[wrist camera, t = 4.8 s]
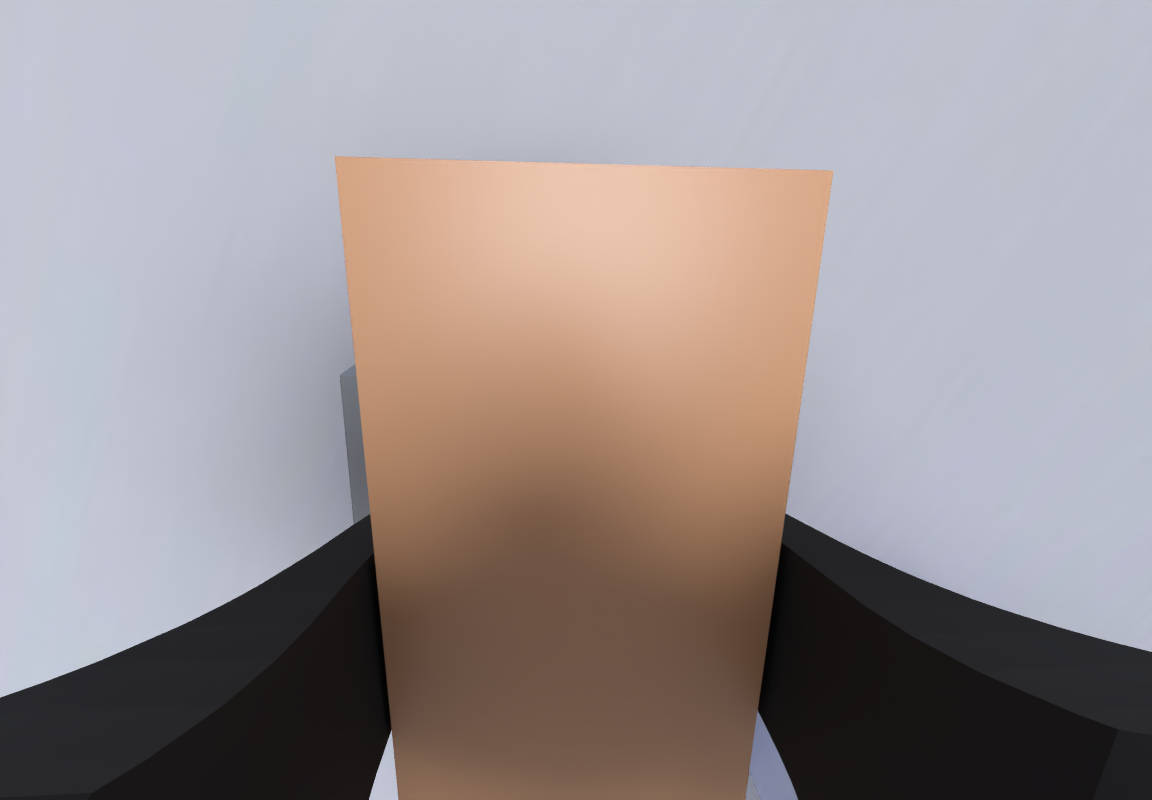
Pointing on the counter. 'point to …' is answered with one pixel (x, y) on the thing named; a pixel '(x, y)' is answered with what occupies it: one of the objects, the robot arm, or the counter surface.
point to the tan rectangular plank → (577, 462)
